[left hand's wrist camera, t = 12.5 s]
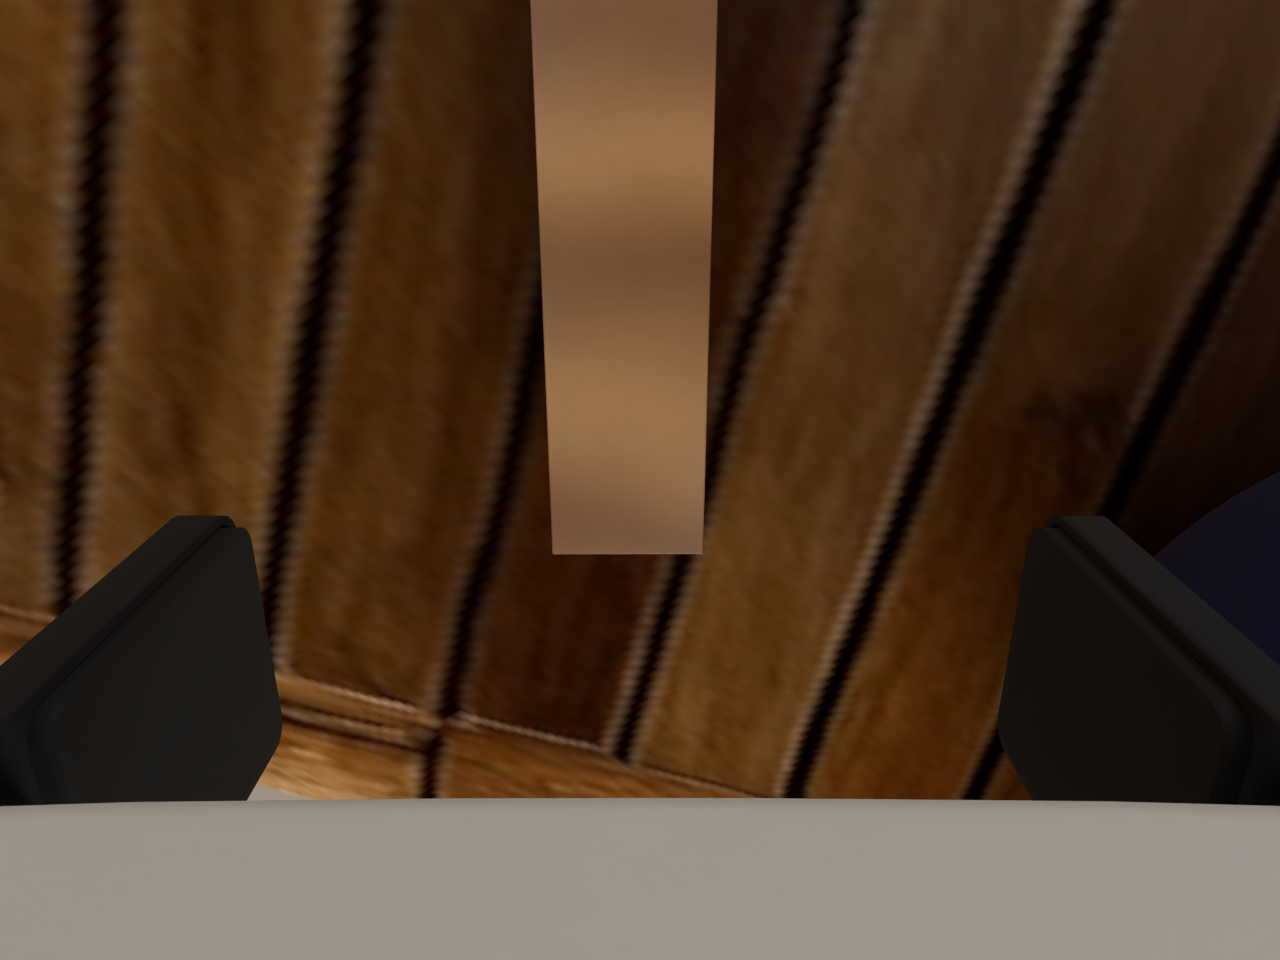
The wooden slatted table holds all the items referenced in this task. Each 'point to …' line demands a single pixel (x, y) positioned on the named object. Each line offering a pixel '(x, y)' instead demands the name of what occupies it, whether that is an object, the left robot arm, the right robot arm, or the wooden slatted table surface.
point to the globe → (1236, 562)
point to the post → (625, 266)
